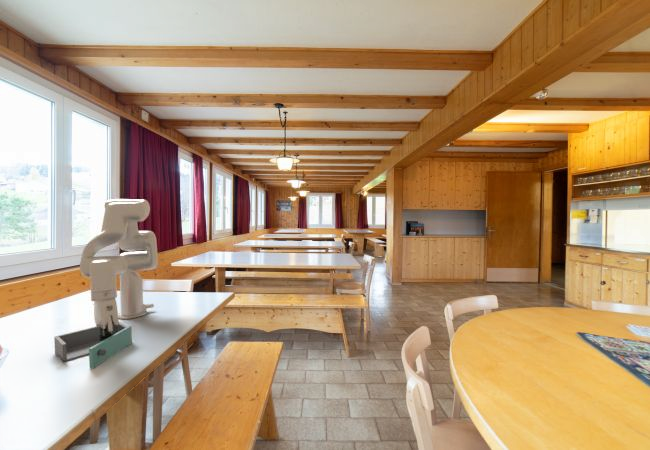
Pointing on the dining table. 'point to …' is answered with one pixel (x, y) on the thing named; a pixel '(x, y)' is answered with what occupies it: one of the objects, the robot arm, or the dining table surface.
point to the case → (80, 342)
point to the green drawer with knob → (109, 346)
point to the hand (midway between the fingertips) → (106, 344)
